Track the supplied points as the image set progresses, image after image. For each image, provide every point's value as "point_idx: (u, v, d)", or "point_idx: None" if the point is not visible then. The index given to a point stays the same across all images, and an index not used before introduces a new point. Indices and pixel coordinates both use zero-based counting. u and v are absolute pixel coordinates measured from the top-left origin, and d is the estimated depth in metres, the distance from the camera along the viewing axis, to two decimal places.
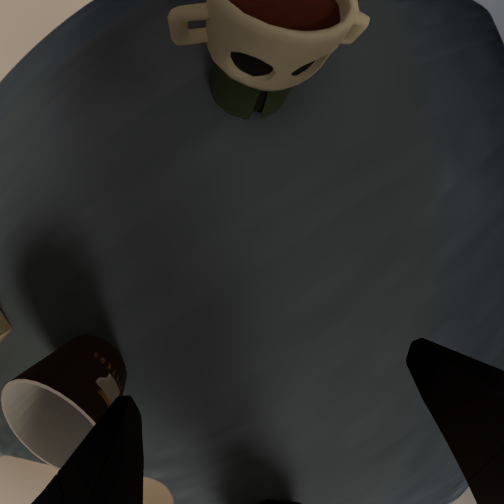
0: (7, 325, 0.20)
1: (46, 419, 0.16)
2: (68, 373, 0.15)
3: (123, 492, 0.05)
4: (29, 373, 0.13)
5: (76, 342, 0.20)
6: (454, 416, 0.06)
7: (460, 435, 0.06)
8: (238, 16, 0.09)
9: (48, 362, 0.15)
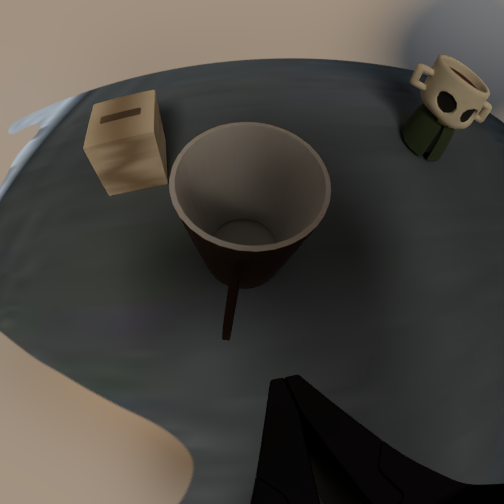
0: (167, 178, 0.26)
1: (190, 216, 0.18)
2: None
3: None
4: None
5: None
6: (320, 475, 0.05)
7: (328, 498, 0.05)
8: (452, 72, 0.19)
9: None
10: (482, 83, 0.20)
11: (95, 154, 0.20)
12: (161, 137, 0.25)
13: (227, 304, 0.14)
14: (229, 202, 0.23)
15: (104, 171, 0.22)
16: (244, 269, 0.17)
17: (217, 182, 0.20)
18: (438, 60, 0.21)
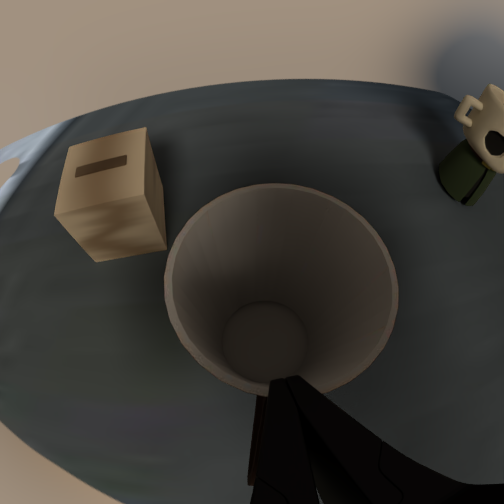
0: (166, 242, 0.21)
1: (198, 318, 0.13)
2: None
3: None
4: None
5: None
6: (320, 475, 0.05)
7: (328, 498, 0.05)
8: None
9: None
10: None
11: (70, 221, 0.15)
12: (156, 190, 0.20)
13: (256, 460, 0.08)
14: (247, 284, 0.18)
15: (85, 238, 0.18)
16: None
17: (233, 264, 0.15)
18: (488, 92, 0.16)
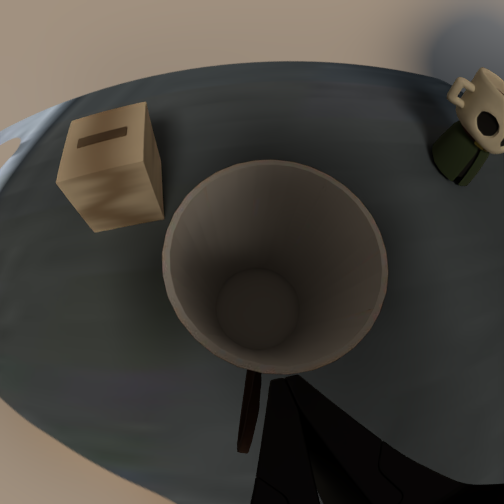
0: (163, 211, 0.22)
1: (194, 288, 0.13)
2: None
3: None
4: None
5: None
6: (320, 475, 0.05)
7: (328, 498, 0.05)
8: (497, 90, 0.15)
9: None
10: None
11: (72, 189, 0.16)
12: (155, 161, 0.21)
13: (246, 429, 0.09)
14: (242, 252, 0.18)
15: (85, 207, 0.18)
16: None
17: (229, 234, 0.16)
18: (480, 75, 0.16)
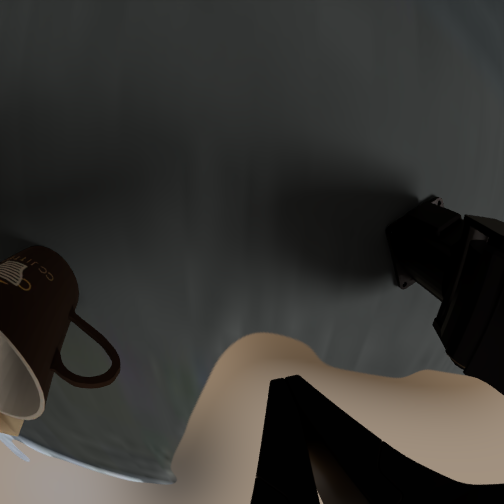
0: None
1: (28, 374, 0.14)
2: None
3: None
4: None
5: None
6: (320, 475, 0.05)
7: (328, 498, 0.05)
8: None
9: None
10: None
11: (16, 424, 0.16)
12: None
13: (87, 387, 0.12)
14: None
15: None
16: (55, 342, 0.13)
17: None
18: None
